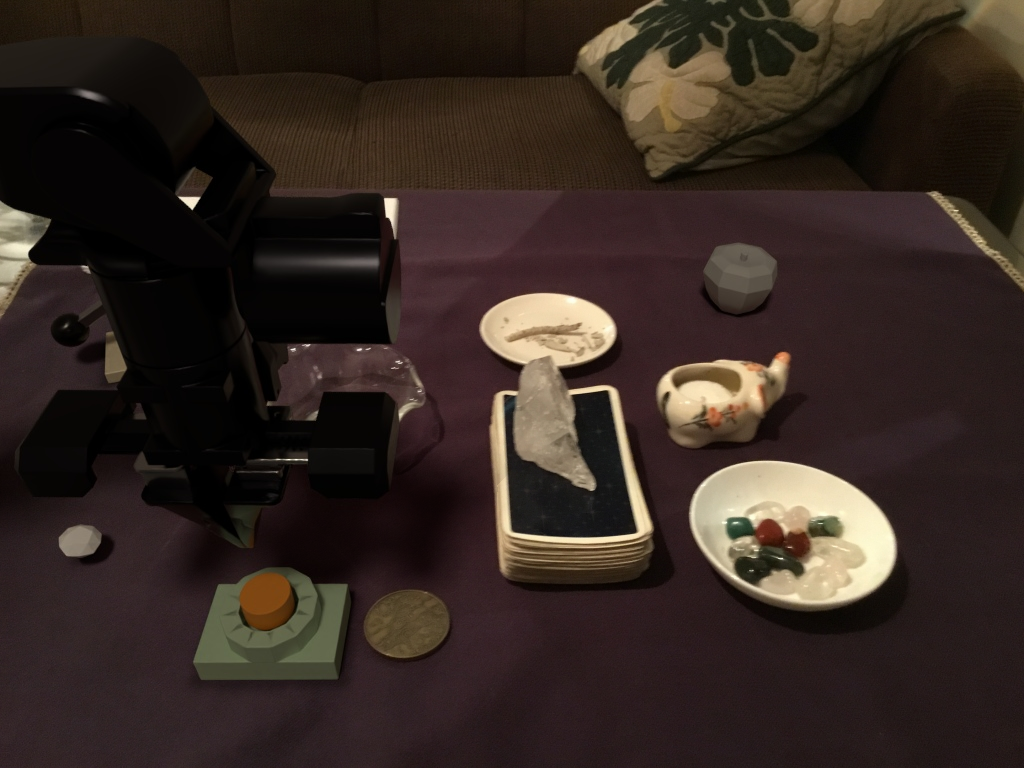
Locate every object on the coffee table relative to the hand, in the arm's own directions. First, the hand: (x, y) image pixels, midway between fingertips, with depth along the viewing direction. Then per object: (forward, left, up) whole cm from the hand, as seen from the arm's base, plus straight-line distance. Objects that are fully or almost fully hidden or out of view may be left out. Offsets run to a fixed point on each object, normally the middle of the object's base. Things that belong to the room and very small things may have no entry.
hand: (249, 541), depth 47 cm
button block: (0, 0, -10) cm, 10 cm away
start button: (0, 0, -7) cm, 7 cm away
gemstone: (-13, +12, -11) cm, 21 cm away
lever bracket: (-7, +36, -10) cm, 39 cm away
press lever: (-10, +36, -6) cm, 38 cm away
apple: (+52, +25, -11) cm, 59 cm away
